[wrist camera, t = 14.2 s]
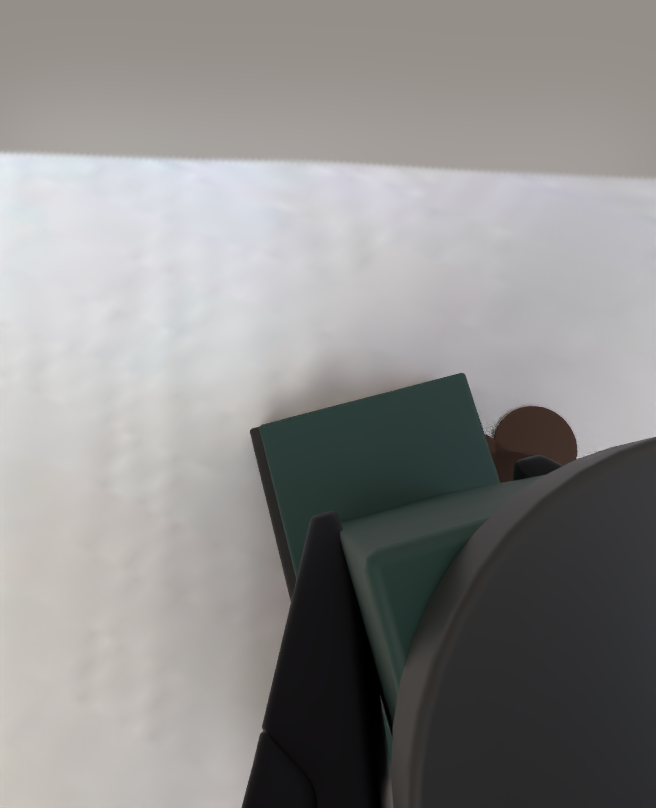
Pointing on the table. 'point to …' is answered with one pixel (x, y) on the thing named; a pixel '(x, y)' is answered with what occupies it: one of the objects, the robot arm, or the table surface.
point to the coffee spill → (530, 439)
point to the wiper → (485, 598)
